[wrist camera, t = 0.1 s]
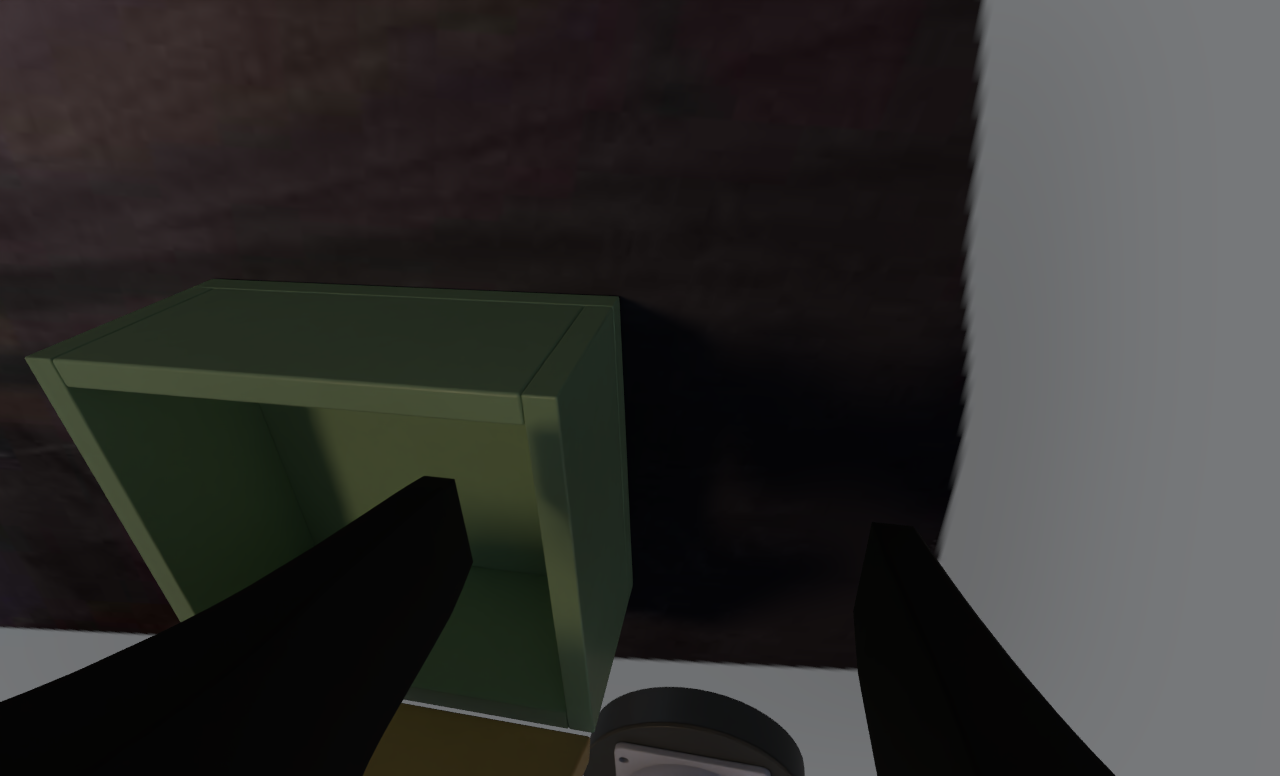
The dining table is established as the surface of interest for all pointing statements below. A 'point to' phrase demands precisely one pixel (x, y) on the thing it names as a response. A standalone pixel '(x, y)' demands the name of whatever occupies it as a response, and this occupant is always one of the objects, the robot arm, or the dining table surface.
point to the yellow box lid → (473, 747)
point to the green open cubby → (377, 458)
